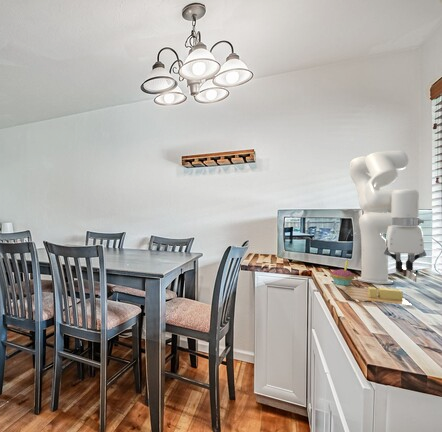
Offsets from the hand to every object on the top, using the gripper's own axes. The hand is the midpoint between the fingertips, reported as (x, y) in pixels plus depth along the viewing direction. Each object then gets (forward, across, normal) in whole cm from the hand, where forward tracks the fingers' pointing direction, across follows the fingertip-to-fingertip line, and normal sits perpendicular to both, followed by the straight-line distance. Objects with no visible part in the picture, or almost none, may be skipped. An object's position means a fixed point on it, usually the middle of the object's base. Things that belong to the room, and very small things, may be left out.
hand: (404, 271), depth 118 cm
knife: (+1, 0, +3) cm, 4 cm away
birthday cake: (+10, +18, -11) cm, 23 cm away
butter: (+8, +6, +9) cm, 14 cm away
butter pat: (+8, +11, +9) cm, 16 cm away
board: (+9, +10, +6) cm, 15 cm away
